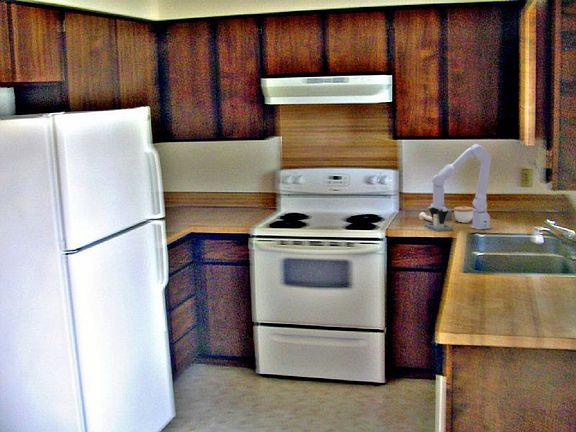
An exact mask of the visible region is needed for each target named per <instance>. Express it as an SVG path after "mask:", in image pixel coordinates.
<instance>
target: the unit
mask: <svg viewBox="0 0 576 432" xmlns="http://www.w3.org/2000/svg"><path fill="white" fill-rule="evenodd" d="M439 211H441V210H439ZM447 211H448V213H447V215H446V218H445V221H444V222H451V221H452V220H453V218H452V217H453V216H452V212H453V211H452V209H451V208H447ZM453 221H454V220H453Z"/></svg>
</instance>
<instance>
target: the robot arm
mask: <svg viewBox="0 0 576 432" xmlns="http://www.w3.org/2000/svg"><path fill="white" fill-rule="evenodd" d="M474 157H476V159H477V160H478V161H479V162H480V168H479V174H478V182H477V188H476V193H475V196H474V198H473V199H472V203H471V204H472V207H473V208H474V209H473V218H472V225H469V226H468V227H469V228H473V229H476V230H486V229H487V230H488V229H492V227H491V216H490V214H489V213H488V211H487V208H488V203H487V191H488V183H489V177H490V170H491V164H492V159H491V157H490V155H489V153H488V150H487V149H486V148H485V147H484V146H483V145H480V144H479V143H474V144H472V145H471V146H470V147H468V148H467V149H466V150H464V151H463V152H462V154H460V155H459V157H457V159H455V160H454V161H453V162H452V163H451V164H450V163H449V164H447V165H446V164H445V165H444V166H443V168H442V169H441V170H440V171H437V173H436V174H435V175H434V176H432V179H431V182H432V183H433V184H432V186H433V187H432V203H430V206H429V207H431V208H428V210H429V212H430V216H431V217H432V220H433V214H438V216H439V223H440V224H445V222H446V221H445V218H446V215H447V213H448V211H447V209H448V208H447V206H445V189H444V185H445V183H446V181H447V180H449V178H451V177H452V176H453V175H454V174H455V173H456V171H457V169H458V168H459V166H461V165H462V164H464V162H465V161H467V160H469V159H473V158H474ZM439 210H441V211H439Z"/></svg>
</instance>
